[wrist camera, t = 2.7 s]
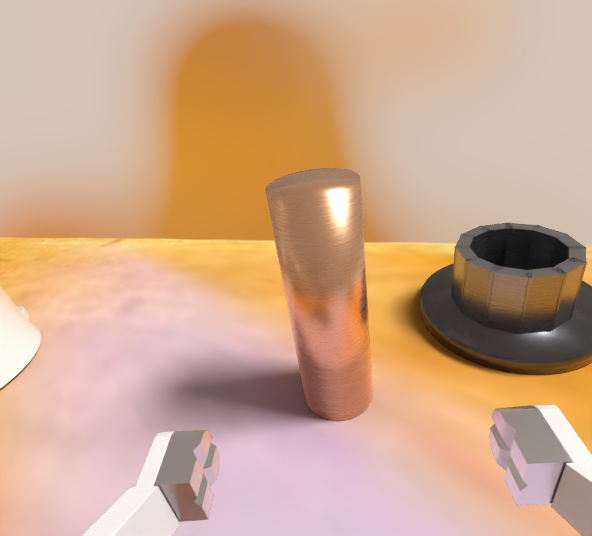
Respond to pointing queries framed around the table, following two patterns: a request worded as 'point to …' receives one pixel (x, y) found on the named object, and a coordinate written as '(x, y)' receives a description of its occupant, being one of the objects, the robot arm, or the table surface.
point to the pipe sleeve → (513, 300)
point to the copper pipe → (325, 286)
